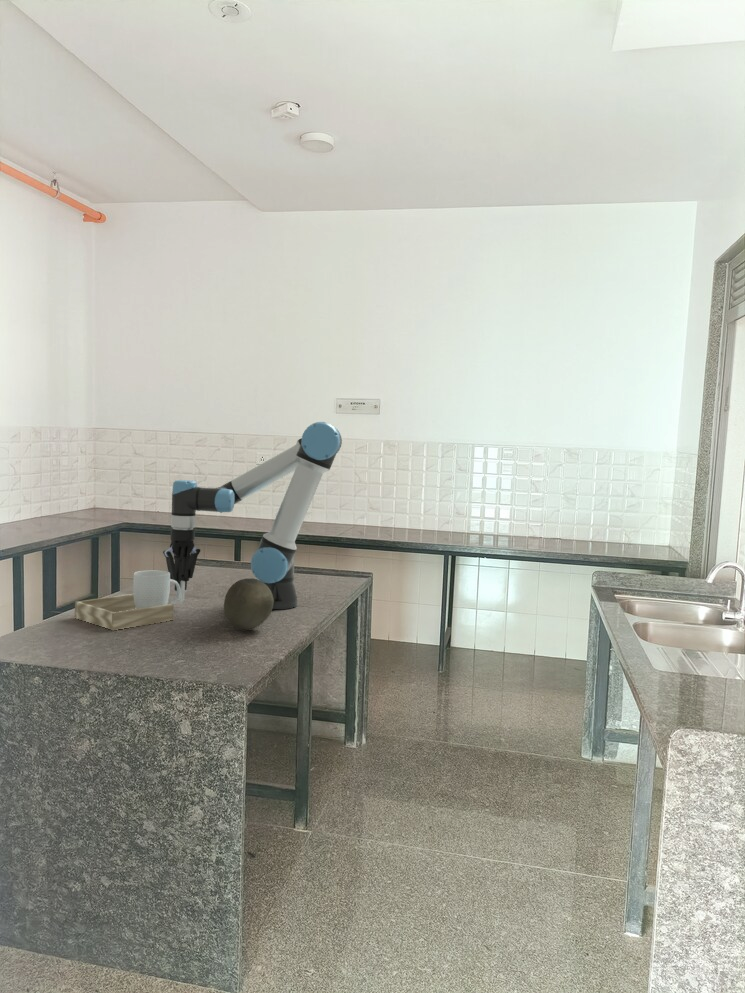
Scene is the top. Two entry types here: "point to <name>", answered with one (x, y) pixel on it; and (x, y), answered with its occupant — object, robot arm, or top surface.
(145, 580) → the mug
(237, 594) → the cantaloupe
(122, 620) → the corral
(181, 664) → the top surface
